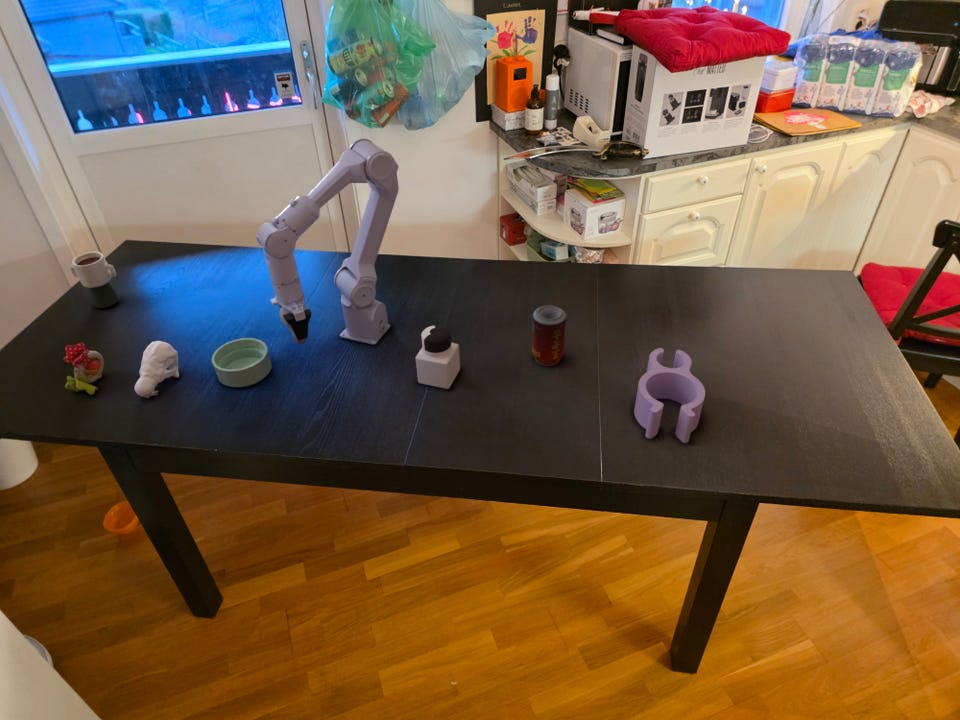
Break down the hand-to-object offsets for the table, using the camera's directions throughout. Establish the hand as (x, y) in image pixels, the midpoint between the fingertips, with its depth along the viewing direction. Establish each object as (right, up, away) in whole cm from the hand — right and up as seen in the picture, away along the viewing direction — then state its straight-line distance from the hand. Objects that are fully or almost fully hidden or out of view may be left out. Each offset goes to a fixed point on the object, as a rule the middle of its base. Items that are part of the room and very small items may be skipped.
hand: (298, 330), depth 146 cm
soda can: (+55, -6, +1) cm, 56 cm away
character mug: (-55, +8, +23) cm, 60 cm away
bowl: (-11, -9, -1) cm, 15 cm away
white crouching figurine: (-29, -12, -3) cm, 32 cm away
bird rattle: (-44, -12, -3) cm, 46 cm away
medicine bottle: (+31, -10, -4) cm, 33 cm away
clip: (+78, -16, -13) cm, 80 cm away
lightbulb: (0, -3, +2) cm, 4 cm away
